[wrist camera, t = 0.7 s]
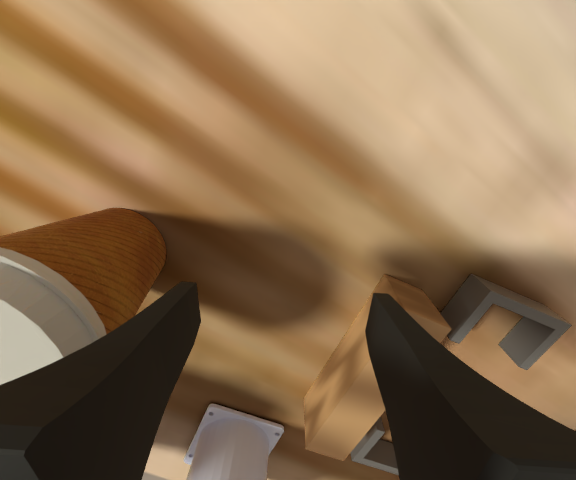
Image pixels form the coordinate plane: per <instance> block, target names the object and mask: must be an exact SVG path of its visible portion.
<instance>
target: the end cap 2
mask: <svg viewBox="0 0 576 480" xmlns="http://www.w3.org/2000/svg"><path fill="white" fill-rule="evenodd" d="M492 304H496V305H498V306H500V307H503V308H505V309H508V310H510V311H512V312H515V313H517V314H520V315H522V316H524V317H523V318H522V319H521V320H520V321H519V322H518V323H517V324H516V326H515V327H514V328H513V329H512V330H511V331H510V332H509V333H508V334H507V335H506V337H505V338H504V339H503V340H502V341H501V342H500V343H499V344H498V345H499V346H500V347H501V348H502V349H503V350H504V351H505V352H506V353H507V355H508V356H509V357H510V358H511V359H512V360H513V361H514V362H515V363H516V364H517V365H518V367H520V368H523V369H525V370H528V369H529V368H530V367H531V366H532V365H533V364H534V363H535V362H536V361H537V360H538V359H539V358H540V357H541V356H542V355H543V354H544V353H545V352H546V351H547V350H548V349H549V348H550V347H551V346H552V345H553V344H554V343H555V342H556V341H557V340H558V339H559V338H560V337H561V336H562V335H563V334H564V333H565V332H566V331H567V330H568V329H569V328H570V327H571V326H572V325H571V324H570V323H568V322H567V321H566V320H564V319H563V318H562V317H560V316H559V315H558V314H556V313H555V312H553V311H552V310H551V309H549V308H548V307H547V306H545V305H543V304H541V303H539V302H536V301H534V300H532V299H529V298H527V297H525V296H522V295H520V294H518V293H515V292H513V291H511V290H508V289H506V288H504V287H501V286H499V285H497V284H494V283H492V282H490V281H487V280H485V279H483V278H481V277H478V276H476V275H474V274H470V275H469V277H468V278H467V279H466V281H465V282H464V283H463V285H462V286H461V287H460V288H459V290H458V291H457V292H456V294H455V295H454V296H453V298H452V299H451V300H450V301H449V303H448V304H447V305H446V307H445V308H444V309H443V311H442V312H441V313H440V314H441V315H442V317H443V318H444V319H445V321H446V322H447V323H448V325H449V326H450V327H451V329H452V330H451V331H450V332H449V333H448V334H447V336H448V338H449V339H450V340H451V341H453V342H456V343H460V342H461V341H462V340H463V339H464V337H465V336H466V335H467V334H468V333H469V331H470V330H471V329H472V328H473V327H474V325H475V324H476V323H477V322H478V321H479V320H480V318H481V317H482V316H483V315H484V314H485V312H486V311H487V310H488V309H489V308H490V306H491V305H492Z"/></svg>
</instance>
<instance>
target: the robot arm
mask: <svg viewBox="0 0 576 480" xmlns="http://www.w3.org/2000/svg"><path fill="white" fill-rule="evenodd" d="M200 323H201V318H200V309H199V301H198V293H197V284H196V282H180V283H179V284H177V285H176V286H175V287H173V288H172V289H171V290H169V291H168V292H167V293H166V294H164V295H163V296H162V297H160V298H159V299H158V300H156V301H155V302H154V303H152V304H151V305H150V306H148V307H147V308H146V309H144V310H143V311H141V312H140V313H138V314H137V315H136V316H134V317H133V318H131V319H130V320H128V321H127V322H125V323H124V324H122V325H121V326H119V327H118V328H116V329H115V330H113V331H111V332H110V333H108V334H106V335H105V336H103V337H101V338H99V339H98V340H96V341H94V342H93V343H91V344H89V345H87V346H85V347H83V348H81V349H79V350H77V351H75V352H73V353H71V354H69V355H67V356H65V357H63V358H61V359H59V360H57V361H55V362H53V363H51V364H49V365H47V366H44V367H42V368H40V369H38V370H35V371H33V372H31V373H28V374H26V375H24V376H21V377H19V378H16V379H14V380H12V381H9V382H6V383H4V384H1V385H0V480H141V479H142V476H143V473H144V470H145V466H146V463H147V460H148V457H149V454H150V451H151V448H152V445H153V442H154V439H155V436H156V433H157V430H158V427H159V424H160V421H161V418H162V416H163V413H164V410H165V407H166V405H167V402H168V400H169V397H170V395H171V393H172V391H173V389H174V386H175V384H176V382H177V380H178V378H179V376H180V373H181V371H182V369H183V367H184V365H185V363H186V360H187V358H188V356H189V354H190V352H191V349H192V347H193V345H194V342H195V339H196V336H197V333H198V329H199V326H200ZM365 334H366V340H367V346H368V352H369V356H370V360H371V363H372V367H373V370H374V373H375V377H376V380H377V383H378V387H379V390H380V393H381V397H382V400H383V403H384V406H385V410H386V414H387V418H388V421H389V426H390V431H391V436H392V441H393V446H394V451H395V457H396V462H397V468H398V473H399V478H400V480H576V431H574V430H572V429H570V428H568V427H566V426H564V425H562V424H560V423H558V422H556V421H555V420H553V419H551V418H549V417H547V416H545V415H544V414H542V413H540V412H538V411H537V410H535V409H533V408H532V407H530V406H528V405H526V404H525V403H523V402H521V401H520V400H518V399H516V398H515V397H513V396H512V395H510V394H508V393H507V392H505V391H504V390H502V389H501V388H499V387H498V386H496V385H495V384H493V383H492V382H490V381H489V380H487V379H486V378H484V377H483V376H481V375H480V374H478V373H477V372H476V371H474V370H473V369H472V368H470V367H469V366H468V365H466V364H465V363H464V362H462V361H461V360H460V359H458V358H457V357H456V356H455V355H453V354H452V353H451V352H450V351H448V350H447V349H446V348H445V347H444V346H443V345H441V344H440V343H439V342H438V341H437V340H436V339H434V338H433V337H432V336H431V335H430V334H429V333H428V332H427V331H426V330H425V329H424V328H423V327H421V326H420V325H419V324H418V323H417V322H416V321H415V320H414V319H413V318H412V317H411V316H410V315H409V314H408V313H407V312H406V311H405V310H404V309H403V308H402V307H401V306H400V305H399V304H398V303H397V301H396V300H395V299H394V298H393V297H392V296H390V295H389V294H387V293H373V296H372V301H371V306H370V310H369V315H368V320H367V324H366V329H365ZM283 432H284V427H283V425H280V424H277V423H274V422H271V421H268V420H265V419H261V418H258V417H255V416H252V415H249V414H246V413H242V412H239V411H236V410H233V409H230V408H226V407H223V406H220V405H217V404H210V405H209V406H208V408H207V410H206V412H205V414H204V416H203V418H202V421H201V423H200V425H199V427H198V429H197V431H196V433H195V436H194V438H193V440H192V442H191V444H190V446H189V449H188V451H187V453H186V455H185V457H184V462H185V463H186V464H190V465H191V466H190V470H189V473H188V476H187V480H267V468H268V456H269V454H270V453H271V451H272V450H273V448H274V446H275V445H276V443H277V442H278V440H279V439H280V437H281V435H282V434H283Z"/></svg>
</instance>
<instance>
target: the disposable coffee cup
mask: <svg viewBox="0 0 576 480" xmlns="http://www.w3.org/2000/svg"><path fill="white" fill-rule="evenodd" d="M165 261H166V246H165V242H164V239H163V237H162V235H161V234H160V232H159V231H158V229H157V228H156V227H155V225H154V224H153V223H151V222H150V221H149V220H148V219H147V218H145V217H144V216H142V215H141V214H139V213H136V212H134V211H132V210H127V209H123V208H109V209H105V210H102V211H98V212H93V213H90V214H86V215H82V216H78V217H74V218H70V219H66V220H62V221H58V222H54V223H51V224H47V225H43V226H39V227H35V228H32V229H28V230H24V231H20V232H16V233H12V234H8V235H4V236H0V385H1V384H4V383H6V382H9V381H12V380H14V379H16V378H19V377H21V376H24V375H26V374H28V373H31V372H33V371H35V370H38V369H40V368H42V367H44V366H47V365H49V364H51V363H53V362H55V361H57V360H59V359H61V358H63V357H65V356H67V355H69V354H71V353H73V352H75V351H77V350H79V349H81V348H83V347H85V346H87V345H89V344H91V343H93V342H94V341H96V340H98V339H99V338H101V337H103V336H105V335H106V334H108V333H110V332H111V331H113V330H115V329H116V328H118V327H119V326H121V325H122V324H124V323H125V322H127V321H128V320H130V319H131V318H133V317H134V316H135V314H136V313H137V311H138V309H139V307H140V306H141V303H142V302H143V301H144V299H145V297H146V296H147V294H148V292H149V290H150V288H151V287H152V285H153V283H154V282H155V280H156V278H157V277H158V275H159V273H160V271H161V270H162V268H163V266H164V264H165Z"/></svg>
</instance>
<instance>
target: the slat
mask: <svg viewBox="0 0 576 480" xmlns="http://www.w3.org/2000/svg"><path fill="white" fill-rule="evenodd" d="M373 293H387V294H389V295H390V296H392V297H393V298H394V299H395V300H396V301H397V303H398V304H399V305H400V306H401V307H402V308H403V309H404V310H405V311H406V312H407V313H408V314H409V315H410V316H411V317H412V318H413V319H414V320H415V321H416V322H417V323H418V324H419V325H420V326H421V327H423V328H424V329H425V330H426V331H427V332H428V333H429V334H430V335H431V336H432V337H433V338H434V339H436V340H437V341H438V342H439V343H441V342H442V341H443V339H444V338H445V337H446V336H447V334H448V333H449V332H450V331H451V330H452V329H451V327H450V326H449V325H448V323H447V322H446V321H445V319H444V318H443V317H442V315H441V314H440V313H439V311H438V310H437V309H436V307H435V306H434V305H433V303H432V302H431V301H430V299H429V298H428V297H427V295H426V294H425V293H424V291H423V290H422V289H419V288H417V287H414V286H412V285H410V284H407V283H405V282H403V281H400V280H398V279H395V278H393V277H391V276H388V275H386V274H384V275H383V277H382V278H381V280H380V282H379V283H378V285H377V286H376V288H375V289H374V291H373V292H372V294H371V295H370V297H369V299H368V300H367V302H366V303H365V305H364V306H363V308H362V309H361V311H360V312H359V314H358V315H357V317H356V319H355V320H354V322H353V323H352V325H351V326H350V328H349V329H348V331H347V332H346V334H345V335H344V337H343V339H342V340H341V342H340V343H339V345H338V346H337V348H336V349H335V351H334V352H333V354H332V355H331V357H330V359H329V360H328V362H327V363H326V365H325V366H324V368H323V369H322V371H321V372H320V374H319V376H318V377H317V379H316V380H315V382H314V383H313V385H312V386H311V388H310V389H309V391H308V392H307V394H306V396H305V397H304V419H305V449H306V450H309V451H312V452H316V453H319V454H322V455H325V456H328V457H331V458H335V459H338V460H341V461H344V460H345V459H346V458H347V456H348V455H349V454H350V453H351V451H352V450H353V449H354V448H355V447H356V445H357V444H358V443H359V442H360V441H361V439H362V438H363V437H364V436H365V434H366V433H367V432H368V431H369V430H370V428H371V427H372V426H373V425H374V423H375V422H376V421H377V420H378V419H379V417H380V416H381V415H382V414H383V412H384V411H385V406H384V403H383V400H382V397H381V393H380V390H379V387H378V383H377V380H376V377H375V373H374V370H373V367H372V363H371V360H370V356H369V352H368V346H367V340H366V334H365V329H366V324H367V320H368V315H369V310H370V306H371V301H372V296H373Z"/></svg>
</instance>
